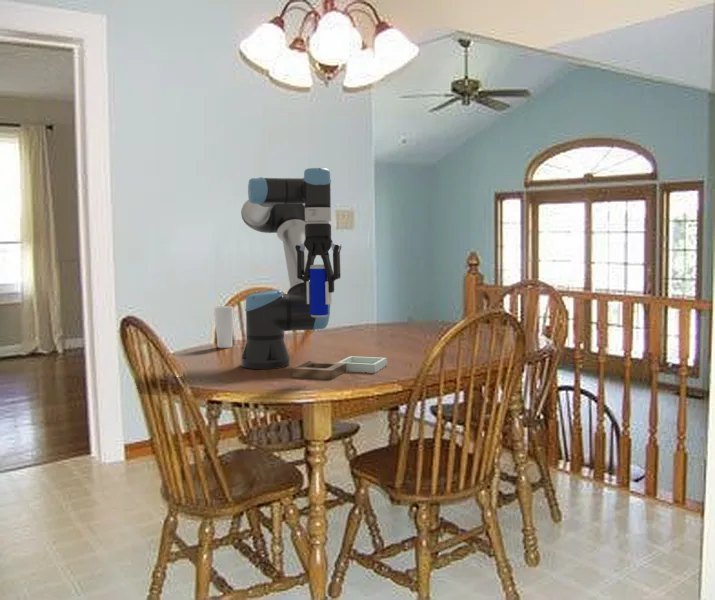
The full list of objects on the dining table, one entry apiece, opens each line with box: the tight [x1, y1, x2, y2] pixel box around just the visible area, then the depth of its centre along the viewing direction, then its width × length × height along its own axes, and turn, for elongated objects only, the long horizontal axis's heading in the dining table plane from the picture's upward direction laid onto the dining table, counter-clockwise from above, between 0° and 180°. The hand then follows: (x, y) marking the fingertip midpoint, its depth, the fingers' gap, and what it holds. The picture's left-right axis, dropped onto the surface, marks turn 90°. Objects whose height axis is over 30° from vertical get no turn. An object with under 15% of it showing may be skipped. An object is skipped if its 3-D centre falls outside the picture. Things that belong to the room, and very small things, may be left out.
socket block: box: [292, 360, 347, 380], centre depth 203 cm, size 12×12×2 cm
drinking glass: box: [214, 305, 234, 349], centre depth 256 cm, size 7×7×15 cm
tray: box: [336, 355, 388, 374], centre depth 212 cm, size 12×12×2 cm
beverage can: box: [310, 264, 328, 317], centre depth 201 cm, size 5×5×15 cm
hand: (319, 303), depth 202 cm, fingers closed on beverage can, 5 cm apart
